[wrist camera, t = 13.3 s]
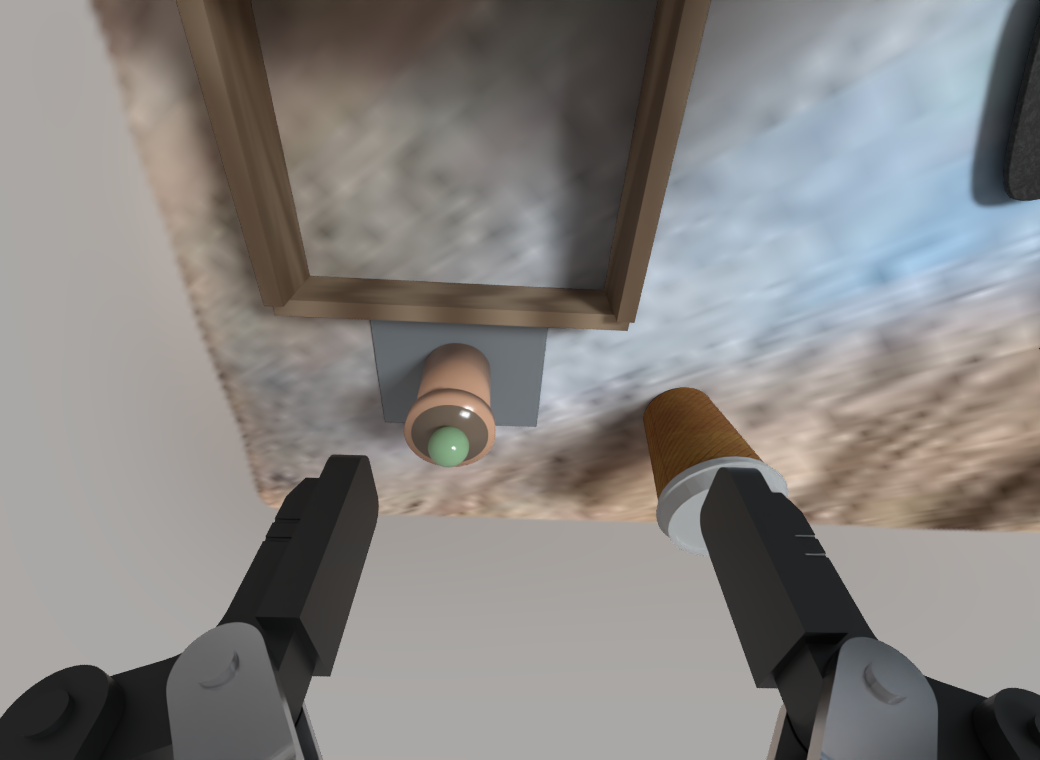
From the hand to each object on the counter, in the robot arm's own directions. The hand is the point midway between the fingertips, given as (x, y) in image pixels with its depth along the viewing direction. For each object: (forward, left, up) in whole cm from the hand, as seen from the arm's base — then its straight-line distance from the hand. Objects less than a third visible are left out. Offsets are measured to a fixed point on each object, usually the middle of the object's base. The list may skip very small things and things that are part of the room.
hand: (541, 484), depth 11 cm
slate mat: (+4, +14, -25) cm, 29 cm away
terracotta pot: (+4, +14, -25) cm, 29 cm away
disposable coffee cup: (-16, +18, -25) cm, 35 cm away
